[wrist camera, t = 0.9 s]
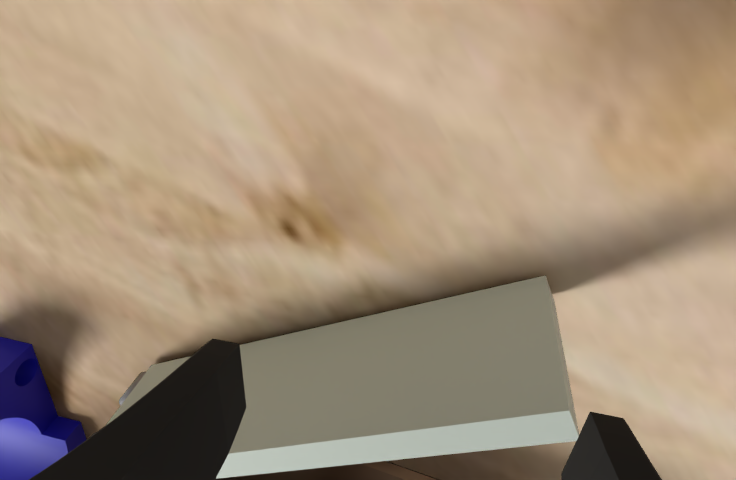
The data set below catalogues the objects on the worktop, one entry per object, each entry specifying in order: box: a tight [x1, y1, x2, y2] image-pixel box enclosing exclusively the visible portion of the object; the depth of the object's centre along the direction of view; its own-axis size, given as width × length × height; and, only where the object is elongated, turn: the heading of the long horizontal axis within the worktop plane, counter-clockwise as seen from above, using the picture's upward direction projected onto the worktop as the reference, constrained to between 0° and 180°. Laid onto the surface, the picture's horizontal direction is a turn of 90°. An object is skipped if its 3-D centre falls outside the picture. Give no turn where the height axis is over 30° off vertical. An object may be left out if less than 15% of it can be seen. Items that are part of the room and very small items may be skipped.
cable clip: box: [0, 337, 87, 480], centre depth 28 cm, size 12×4×6 cm, turn 174°
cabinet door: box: [93, 275, 579, 479], centre depth 19 cm, size 20×1×6 cm, turn 115°
